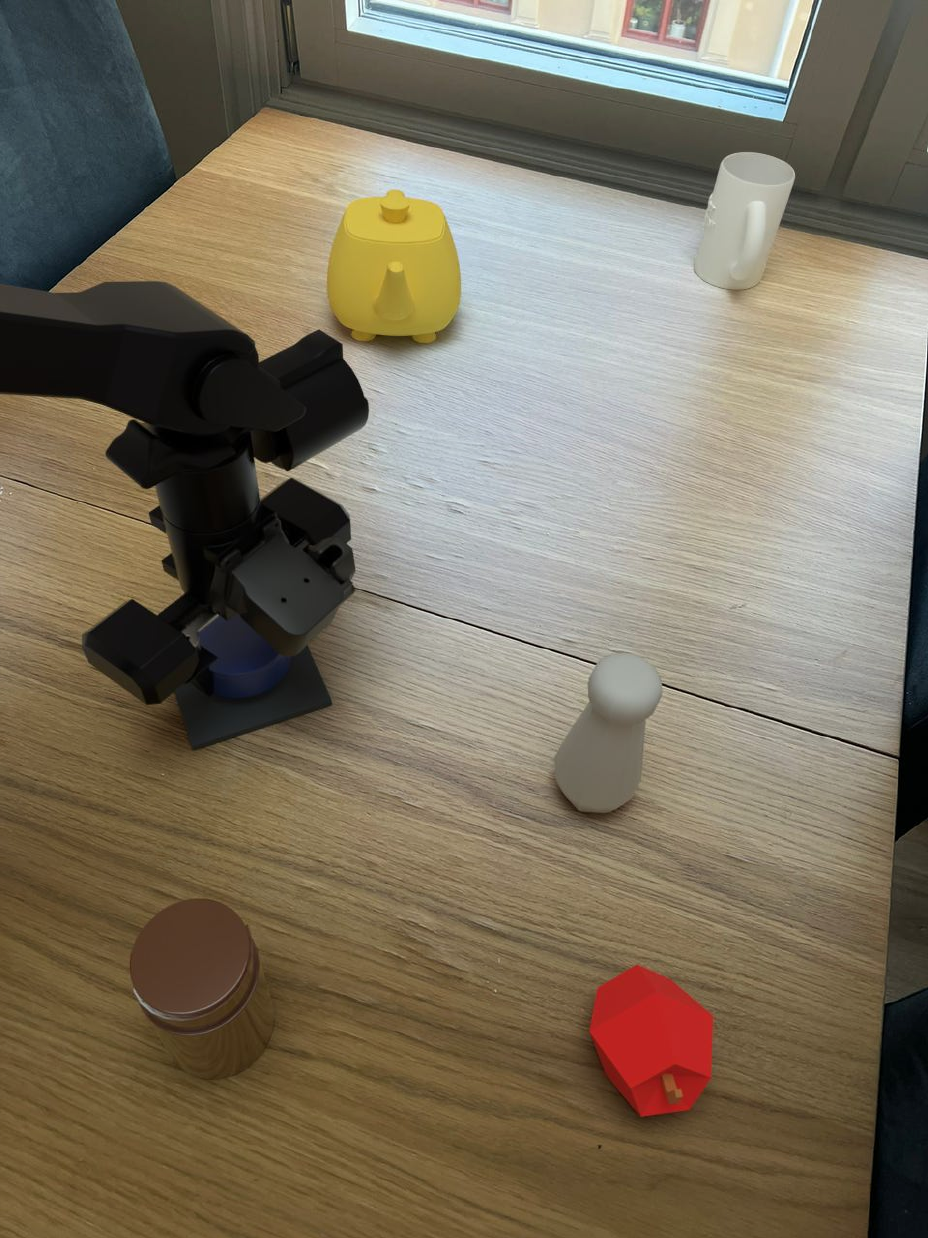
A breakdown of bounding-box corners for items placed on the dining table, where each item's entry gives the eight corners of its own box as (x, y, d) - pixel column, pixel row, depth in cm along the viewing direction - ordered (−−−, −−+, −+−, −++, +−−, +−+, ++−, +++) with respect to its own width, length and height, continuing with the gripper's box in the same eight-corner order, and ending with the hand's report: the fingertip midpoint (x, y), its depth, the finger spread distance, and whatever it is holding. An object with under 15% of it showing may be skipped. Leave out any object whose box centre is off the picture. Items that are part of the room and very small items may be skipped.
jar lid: (274, 611, 70) (270, 586, 67) (305, 679, 66) (302, 655, 64) (181, 639, 67) (175, 614, 65) (208, 711, 64) (202, 687, 61)
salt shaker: (534, 765, 65) (561, 650, 55) (607, 740, 66) (645, 624, 56) (573, 837, 61) (610, 729, 51) (648, 809, 63) (697, 698, 53)
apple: (587, 934, 52) (630, 1064, 45) (699, 939, 53) (757, 1065, 46) (555, 1018, 55) (591, 1151, 48) (661, 1021, 56) (711, 1150, 49)
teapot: (456, 277, 105) (463, 161, 95) (463, 385, 92) (472, 265, 82) (332, 272, 104) (327, 155, 94) (322, 381, 91) (314, 259, 81)
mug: (698, 305, 104) (728, 199, 95) (688, 251, 112) (715, 148, 103) (771, 312, 104) (808, 207, 95) (756, 257, 112) (789, 155, 103)
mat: (193, 751, 64) (191, 746, 63) (159, 644, 69) (157, 639, 69) (332, 705, 67) (332, 700, 66) (289, 606, 72) (288, 601, 72)
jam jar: (179, 1099, 50) (140, 1041, 42) (154, 993, 53) (113, 921, 45) (288, 1051, 52) (270, 987, 44) (256, 952, 55) (234, 876, 47)
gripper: (191, 667, 47) (231, 816, 59) (415, 475, 57) (410, 635, 69) (44, 566, 51) (109, 725, 63) (279, 403, 61) (297, 566, 73)
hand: (241, 660), depth 67 cm, fingers closed on jar lid, 7 cm apart
